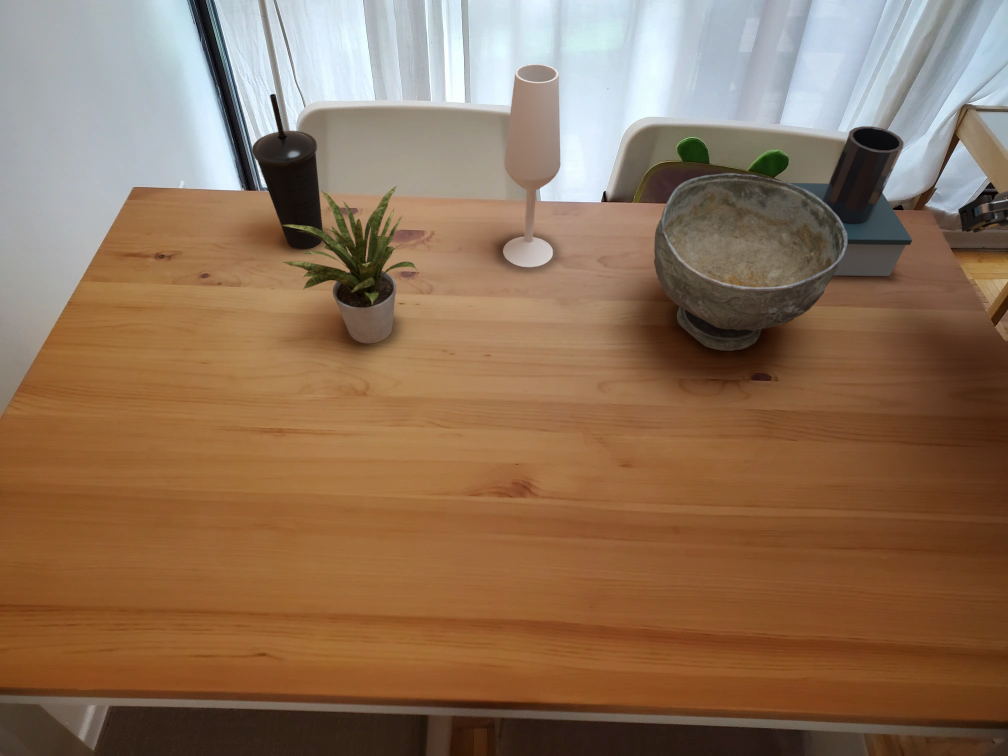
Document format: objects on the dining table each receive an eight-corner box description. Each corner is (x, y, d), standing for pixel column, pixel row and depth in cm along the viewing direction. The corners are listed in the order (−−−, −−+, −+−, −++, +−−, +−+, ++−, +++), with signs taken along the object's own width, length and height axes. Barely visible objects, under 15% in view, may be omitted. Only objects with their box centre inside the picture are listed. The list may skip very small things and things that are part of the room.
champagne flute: (541, 273, 93) (553, 92, 75) (494, 258, 95) (495, 79, 77) (561, 244, 97) (577, 67, 79) (515, 231, 99) (521, 55, 81)
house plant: (349, 272, 92) (328, 156, 80) (448, 297, 89) (442, 181, 77) (289, 344, 83) (255, 227, 71) (397, 376, 80) (381, 258, 68)
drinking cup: (329, 256, 94) (300, 111, 80) (270, 256, 94) (230, 110, 80) (338, 222, 100) (312, 80, 85) (282, 221, 99) (247, 79, 85)
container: (860, 221, 102) (877, 184, 97) (892, 278, 93) (912, 240, 89) (772, 219, 102) (784, 182, 97) (796, 276, 93) (811, 238, 89)
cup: (861, 197, 95) (892, 126, 88) (877, 224, 91) (911, 152, 84) (814, 196, 95) (842, 125, 88) (829, 223, 91) (858, 152, 84)
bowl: (652, 385, 80) (678, 280, 69) (628, 274, 93) (647, 171, 82) (828, 385, 80) (882, 280, 69) (780, 275, 93) (819, 172, 82)
